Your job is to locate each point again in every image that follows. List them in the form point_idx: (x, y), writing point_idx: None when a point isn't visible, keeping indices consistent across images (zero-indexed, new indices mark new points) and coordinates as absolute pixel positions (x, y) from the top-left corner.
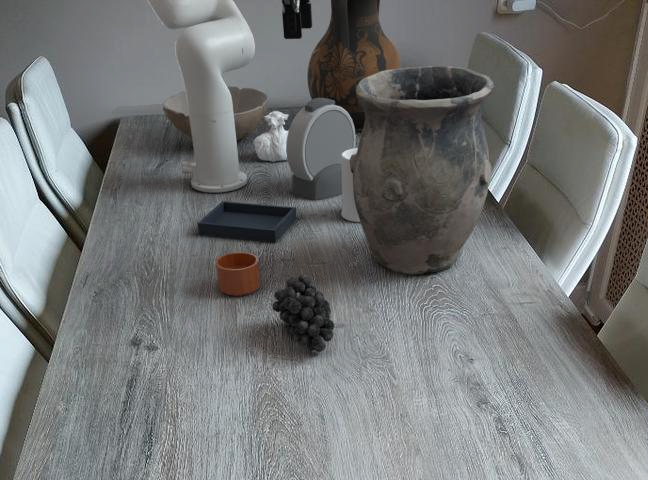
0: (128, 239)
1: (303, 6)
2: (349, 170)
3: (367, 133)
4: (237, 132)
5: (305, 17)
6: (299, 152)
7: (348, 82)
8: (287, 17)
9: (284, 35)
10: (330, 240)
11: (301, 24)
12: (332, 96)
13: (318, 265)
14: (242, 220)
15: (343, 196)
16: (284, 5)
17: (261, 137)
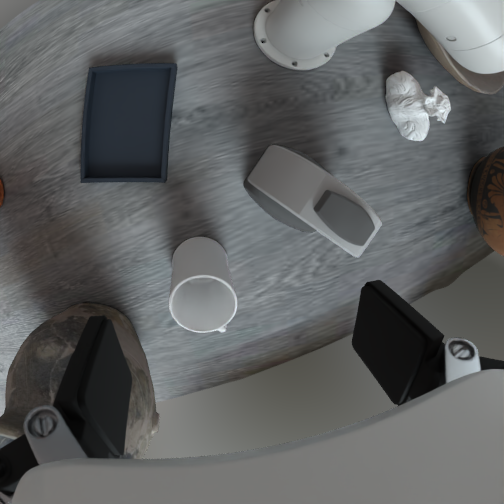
0: (80, 3)
1: (403, 379)
2: (171, 285)
3: (9, 398)
4: (430, 50)
5: (374, 354)
6: (253, 176)
7: (501, 205)
8: (56, 408)
9: (87, 324)
10: (110, 245)
11: (365, 318)
12: (492, 179)
13: (49, 251)
14: (137, 109)
15: (183, 254)
16: (3, 453)
17: (408, 82)
